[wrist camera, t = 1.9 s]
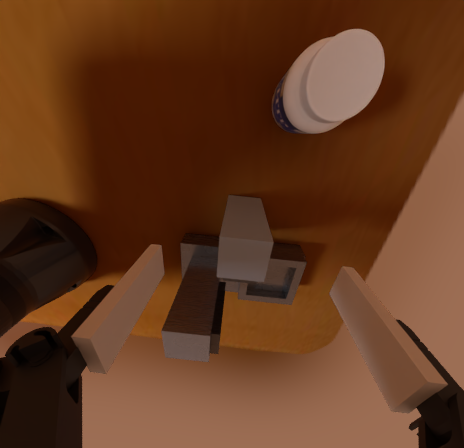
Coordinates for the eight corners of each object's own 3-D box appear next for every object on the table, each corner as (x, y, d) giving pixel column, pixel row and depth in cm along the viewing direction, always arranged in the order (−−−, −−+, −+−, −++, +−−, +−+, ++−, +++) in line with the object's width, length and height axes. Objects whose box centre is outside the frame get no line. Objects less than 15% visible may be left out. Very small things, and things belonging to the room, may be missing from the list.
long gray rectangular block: (255, 231, 24) (262, 289, 15) (225, 228, 24) (216, 284, 15) (260, 198, 22) (273, 242, 13) (228, 194, 22) (219, 236, 13)
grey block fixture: (187, 274, 28) (151, 365, 17) (186, 233, 25) (140, 314, 14) (286, 285, 28) (316, 383, 17) (299, 245, 25) (346, 337, 14)
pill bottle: (269, 75, 16) (294, 20, 9) (328, 62, 16) (414, -9, 8) (272, 137, 19) (294, 140, 11) (324, 129, 18) (386, 125, 10)
